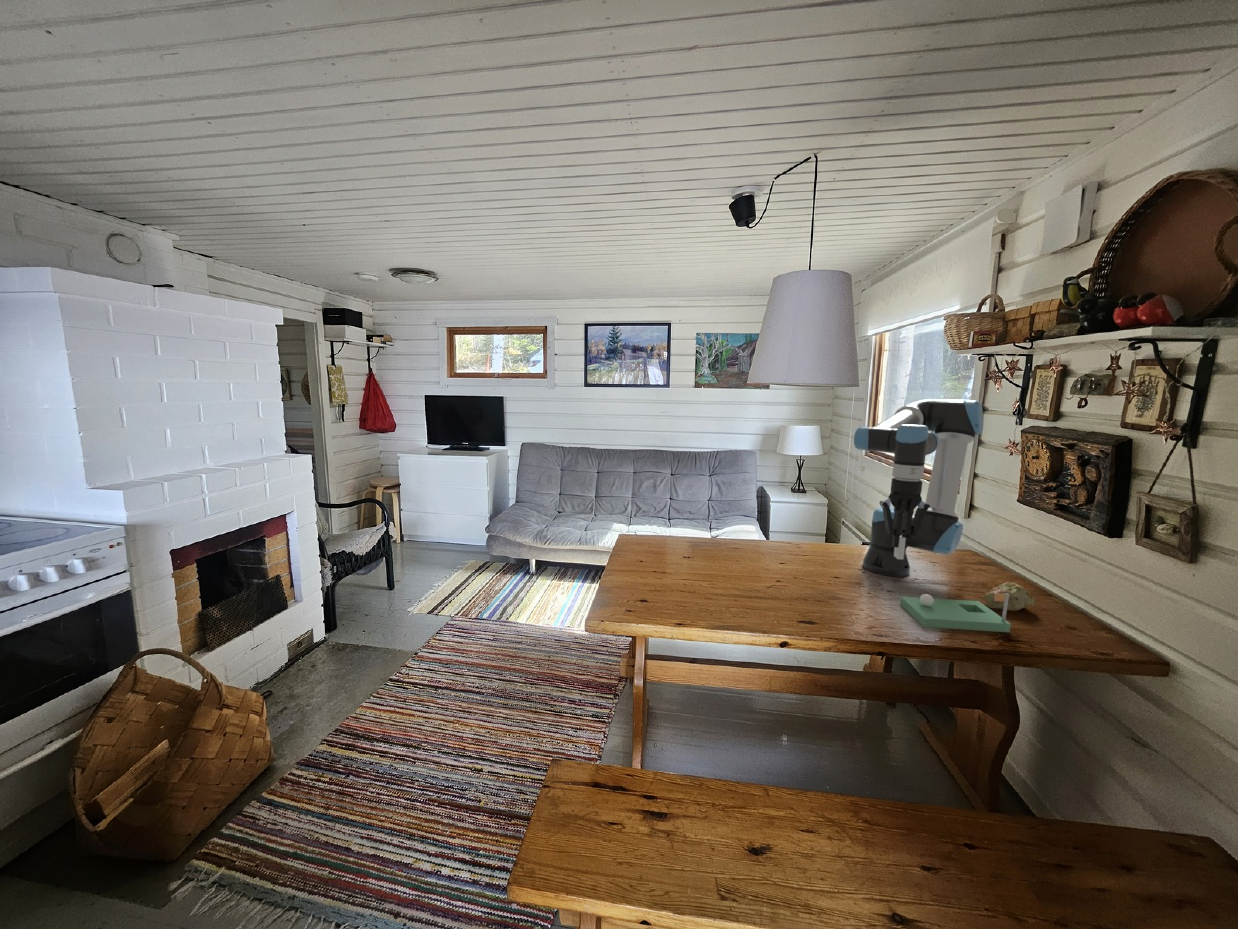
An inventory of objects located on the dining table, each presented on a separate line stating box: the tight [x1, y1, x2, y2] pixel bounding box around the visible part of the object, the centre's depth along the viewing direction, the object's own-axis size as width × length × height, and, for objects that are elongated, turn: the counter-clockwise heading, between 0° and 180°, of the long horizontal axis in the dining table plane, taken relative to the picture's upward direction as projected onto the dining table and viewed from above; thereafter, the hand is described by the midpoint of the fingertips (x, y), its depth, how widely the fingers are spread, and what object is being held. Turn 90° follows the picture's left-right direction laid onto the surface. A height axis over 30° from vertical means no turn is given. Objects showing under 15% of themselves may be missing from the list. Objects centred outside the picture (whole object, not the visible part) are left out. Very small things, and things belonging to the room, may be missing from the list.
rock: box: [984, 581, 1036, 612], centre depth 143 cm, size 12×9×10 cm
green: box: [900, 593, 1012, 633], centre depth 134 cm, size 14×22×10 cm, turn 83°
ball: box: [919, 593, 935, 606], centre depth 137 cm, size 4×4×4 cm
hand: (898, 557), depth 136 cm, fingers closed
